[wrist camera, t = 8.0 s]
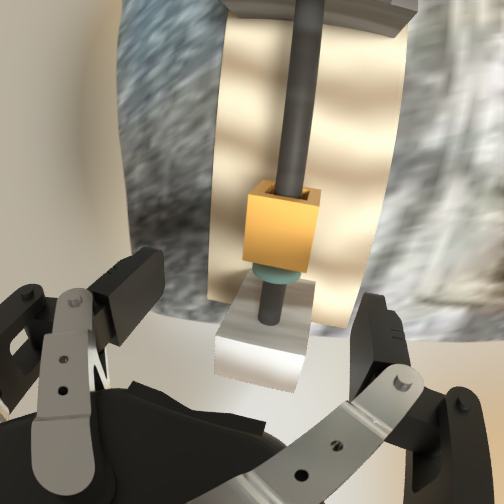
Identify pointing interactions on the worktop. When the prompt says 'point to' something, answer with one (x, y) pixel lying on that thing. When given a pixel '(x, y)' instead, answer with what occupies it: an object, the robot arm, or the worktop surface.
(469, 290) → the worktop surface
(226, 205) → the cord board
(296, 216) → the sleeve
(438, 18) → the worktop surface
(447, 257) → the worktop surface
